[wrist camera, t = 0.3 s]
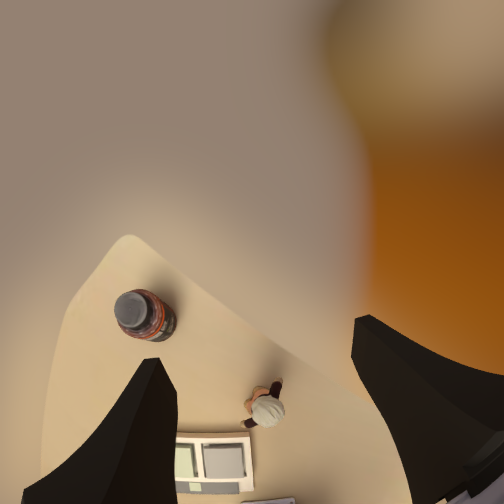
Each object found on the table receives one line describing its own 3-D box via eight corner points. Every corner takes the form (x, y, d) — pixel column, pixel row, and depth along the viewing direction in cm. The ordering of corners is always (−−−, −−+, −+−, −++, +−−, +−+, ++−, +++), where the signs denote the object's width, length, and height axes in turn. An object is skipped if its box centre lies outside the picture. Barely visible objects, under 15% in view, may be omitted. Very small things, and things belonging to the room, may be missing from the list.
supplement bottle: (137, 304, 39) (105, 284, 28) (175, 300, 39) (154, 278, 29) (140, 344, 37) (107, 337, 26) (179, 341, 37) (158, 334, 27)
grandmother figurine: (261, 425, 33) (272, 454, 22) (235, 415, 34) (235, 441, 22) (284, 378, 36) (305, 387, 24) (258, 368, 36) (269, 373, 25)
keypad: (253, 488, 29) (254, 495, 27) (122, 480, 28) (115, 486, 25) (248, 431, 33) (249, 436, 30) (112, 425, 31) (105, 429, 29)
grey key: (243, 474, 28) (243, 477, 27) (207, 474, 28) (206, 478, 27) (241, 444, 30) (241, 447, 29) (204, 445, 30) (203, 448, 28)
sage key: (195, 474, 28) (193, 478, 26) (161, 472, 27) (158, 475, 26) (191, 445, 29) (190, 448, 28) (157, 443, 29) (154, 446, 28)
